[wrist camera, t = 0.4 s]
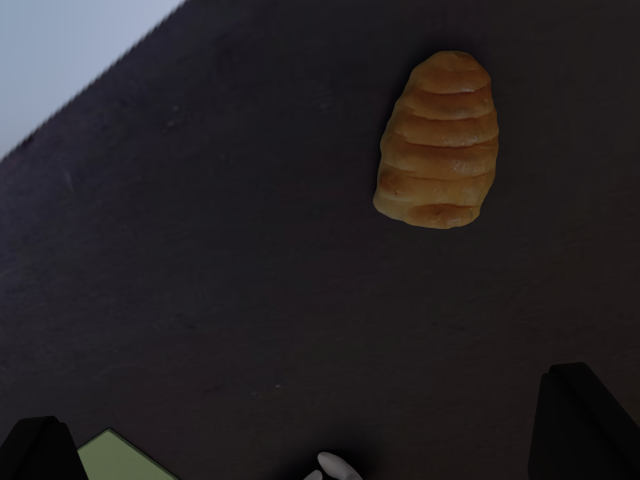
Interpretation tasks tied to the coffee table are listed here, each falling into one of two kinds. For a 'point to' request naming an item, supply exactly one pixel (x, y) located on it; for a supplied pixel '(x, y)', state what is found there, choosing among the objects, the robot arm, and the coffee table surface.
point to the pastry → (439, 144)
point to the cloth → (119, 460)
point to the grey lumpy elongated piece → (334, 468)
